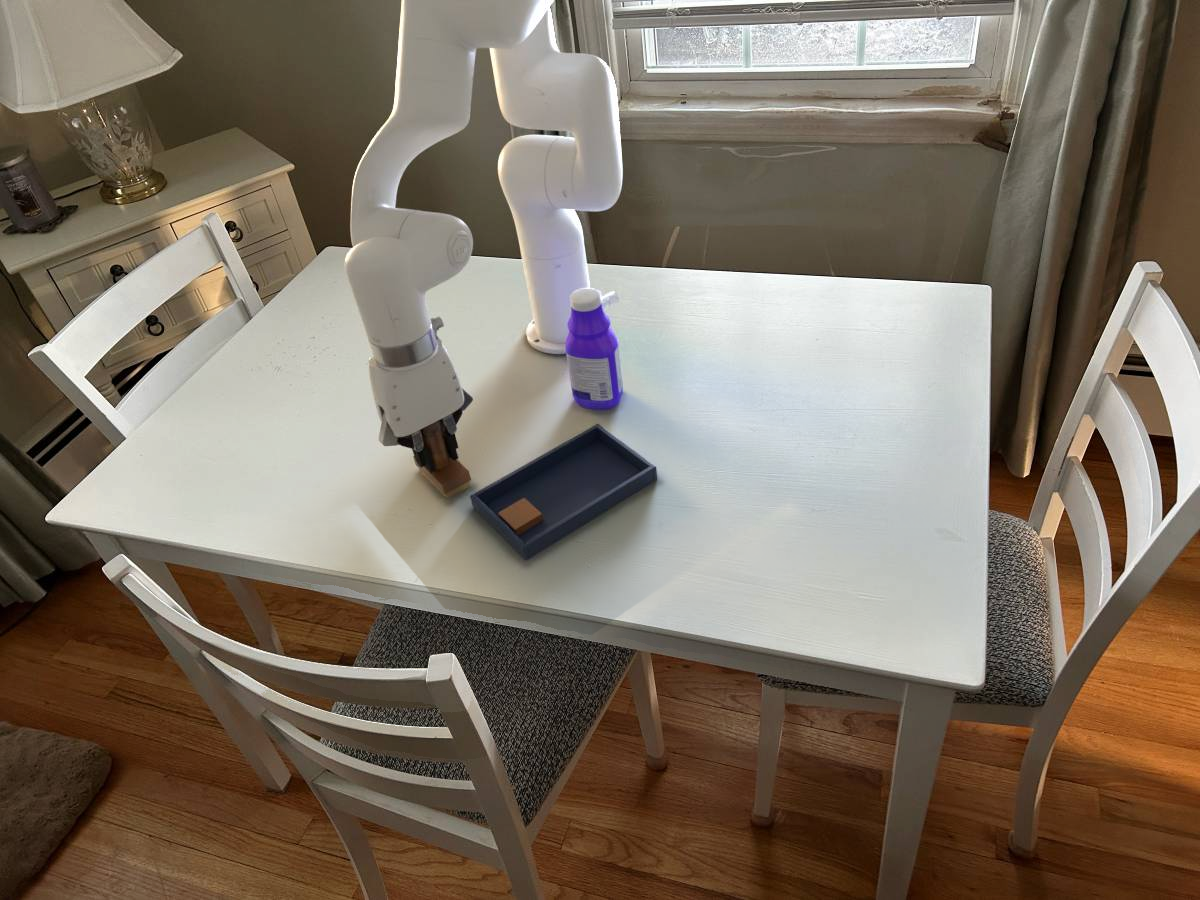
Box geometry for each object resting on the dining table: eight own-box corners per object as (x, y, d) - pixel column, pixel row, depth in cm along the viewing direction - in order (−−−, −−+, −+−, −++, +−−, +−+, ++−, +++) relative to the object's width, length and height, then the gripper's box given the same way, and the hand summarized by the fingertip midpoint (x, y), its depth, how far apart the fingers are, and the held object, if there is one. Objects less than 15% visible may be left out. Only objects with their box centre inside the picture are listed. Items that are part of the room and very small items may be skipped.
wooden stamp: (444, 459, 123) (424, 395, 116) (473, 488, 118) (455, 422, 111) (418, 473, 122) (397, 409, 115) (447, 503, 116) (427, 437, 109)
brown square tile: (525, 504, 114) (524, 497, 113) (543, 520, 111) (542, 513, 110) (499, 519, 112) (497, 512, 111) (516, 536, 110) (515, 529, 109)
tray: (600, 438, 123) (597, 423, 121) (657, 482, 115) (656, 466, 113) (474, 511, 115) (469, 495, 113) (526, 563, 107) (522, 547, 105)
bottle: (629, 391, 130) (617, 285, 119) (617, 415, 126) (603, 308, 115) (582, 386, 132) (565, 281, 121) (569, 409, 128) (550, 304, 117)
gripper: (447, 304, 112) (477, 420, 123) (327, 359, 105) (370, 476, 117) (478, 326, 107) (506, 445, 118) (354, 386, 100) (397, 505, 112)
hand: (439, 460), depth 118 cm, fingers closed on wooden stamp, 2 cm apart
